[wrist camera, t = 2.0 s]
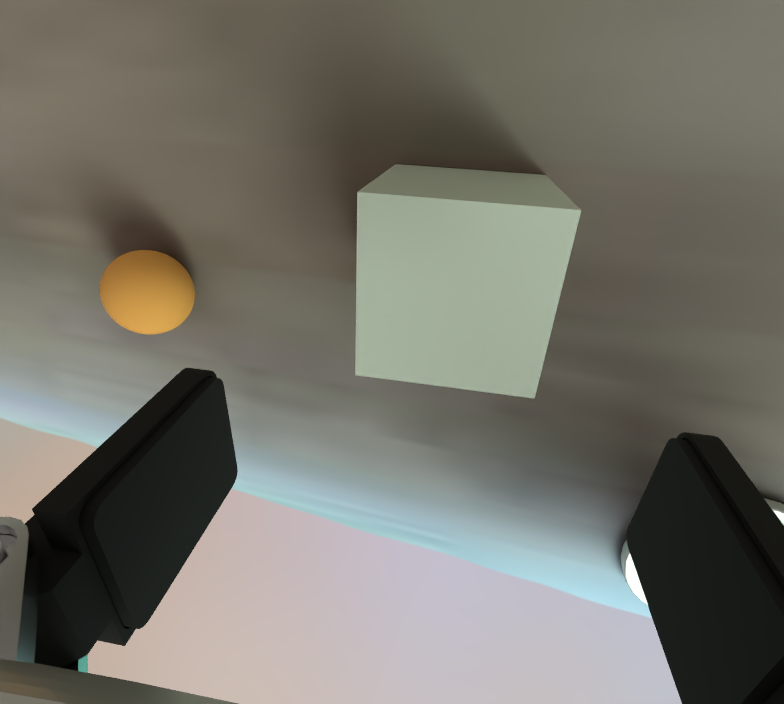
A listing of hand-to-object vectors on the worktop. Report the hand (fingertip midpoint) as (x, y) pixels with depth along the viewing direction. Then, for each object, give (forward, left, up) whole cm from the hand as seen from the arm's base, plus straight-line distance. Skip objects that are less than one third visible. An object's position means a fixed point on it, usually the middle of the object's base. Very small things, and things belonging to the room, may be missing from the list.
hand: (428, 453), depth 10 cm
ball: (+18, +4, -15) cm, 24 cm away
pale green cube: (0, 0, -18) cm, 18 cm away
